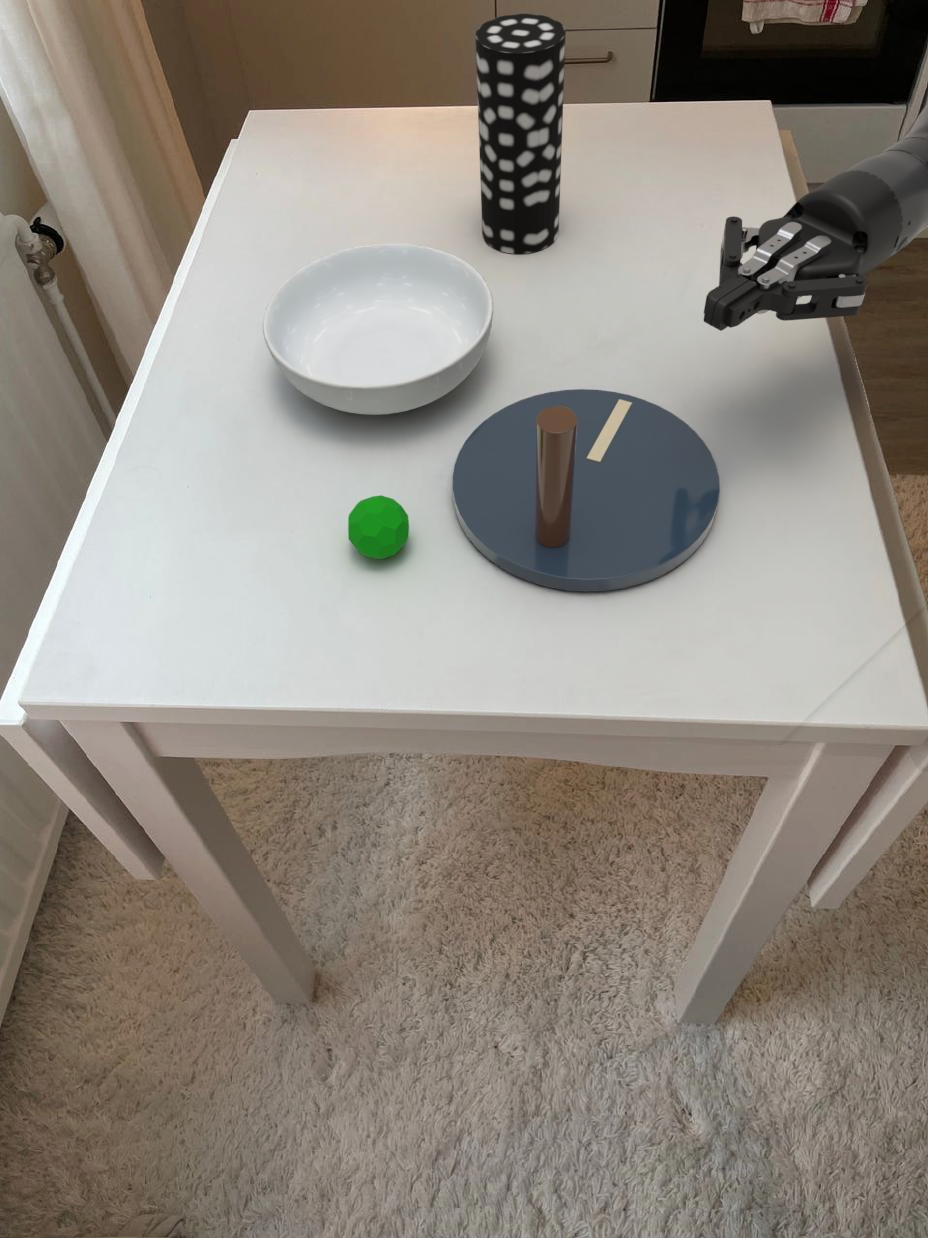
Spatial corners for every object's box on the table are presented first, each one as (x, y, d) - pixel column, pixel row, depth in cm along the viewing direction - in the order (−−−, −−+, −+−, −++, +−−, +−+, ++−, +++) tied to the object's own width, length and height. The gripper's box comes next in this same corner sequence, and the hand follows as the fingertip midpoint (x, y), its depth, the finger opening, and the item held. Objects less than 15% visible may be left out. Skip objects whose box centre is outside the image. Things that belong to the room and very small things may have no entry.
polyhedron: (414, 566, 76) (408, 526, 73) (352, 573, 76) (344, 533, 73) (409, 521, 79) (404, 480, 76) (351, 527, 79) (342, 487, 76)
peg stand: (516, 377, 89) (515, 246, 78) (748, 439, 83) (782, 306, 72) (408, 541, 78) (389, 414, 67) (668, 628, 71) (694, 503, 60)
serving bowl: (238, 361, 93) (220, 300, 88) (414, 278, 100) (407, 217, 94) (353, 479, 83) (340, 419, 77) (540, 378, 89) (541, 315, 84)
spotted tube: (471, 246, 103) (461, 46, 87) (498, 206, 107) (494, 9, 91) (544, 259, 101) (548, 57, 85) (568, 218, 105) (577, 18, 89)
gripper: (800, 141, 74) (648, 230, 67) (954, 204, 68) (803, 309, 61) (779, 230, 80) (637, 320, 73) (919, 297, 73) (778, 401, 67)
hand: (713, 315), depth 67 cm, fingers closed
